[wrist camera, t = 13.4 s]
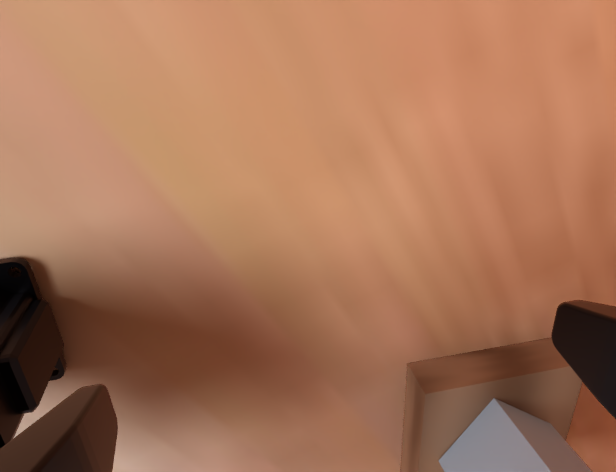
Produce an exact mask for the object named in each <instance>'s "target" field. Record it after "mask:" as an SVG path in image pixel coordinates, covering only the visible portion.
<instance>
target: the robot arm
mask: <svg viewBox="0 0 616 472" xmlns="http://www.w3.org/2000/svg"><path fill="white" fill-rule="evenodd" d="M11 267H17V268H19V269H20V270H21V273H16V272H14V271H13V270H12V269H11ZM552 342H553V344H554V346H555V348H556V350H557V351H558V352H559V353H560V355H561V356H562V357H563V358H564V359H565V361H566V362H567V363H568V364H569V366H570V367H571V368H572V369H573V371H574V372H575V373H576V374H577V375H578V377H579V378H580V379H581V380H582V382H583V383H584V384H585V385H586V387H587V388H588V389H589V390H590V391H591V393H592V394H593V395H594V396H595V397H596V399H597V400H598V401H599V402H600V403H601V404H602V405H603V406H604V407H605V408H606V409H607V411H608V412H609V413H610V414H611V415H612V416H613V417H614V418H615V419H616V307H615V306H609V305H604V304H599V303H593V302H588V301H582V300H575V301H569V302H563V303H561V304H560V305H559V306H558V308H557V312H556V316H555V321H554V325H553V330H552ZM63 347H64V343H63V340H62V338H61V335H60V332H59V329H58V327H57V324H56V321H55V318H54V315H53V313H52V310H51V307H50V304H49V303H48V302H47V301H46V300H44V299H42V296H41V294H40V291H39V288H38V286H37V283H36V280H35V277H34V275H33V272H32V269H31V266H30V265H29V263H28V262H27V261H26V260H24V259H21V258H7V259H0V472H112V469H113V462H114V454H115V447H116V439H117V431H118V425H117V417H116V414H115V411H114V408H113V405H112V402H111V399H110V396H109V392H108V390H107V388H106V386H105V385H103V384H97V385H91V386H86V387H82V388H80V389H78V390H77V391H75V392H74V393H73V394H71V395H70V396H69V397H68V398H66V399H65V400H64V401H62V402H61V403H60V404H58V405H57V406H56V407H54V408H53V409H52V410H50V411H49V412H48V413H47V414H45V415H44V416H43V417H41V418H40V419H39V420H37V421H36V422H35V423H33V424H32V425H31V426H29V427H28V428H27V429H26V430H24V431H23V432H22V433H20V434H19V435H18V436H16V437H15V438H14V436H15V433H16V431H17V429H18V427H19V424H20V422H21V420H22V418H23V416H24V413H30V412H33V411H34V410H35V409H36V408H37V406H38V405H39V403H40V401H41V398H42V396H43V394H44V391H45V389H46V386H47V384H48V382H49V381H51V380H56V379H59V378H61V377H62V376H63V375H64V373H65V370H66V368H67V366H66V362H65V359H64V356H63V354H62V349H63ZM54 368H57V369H58V370H54ZM13 438H14V439H13Z"/></svg>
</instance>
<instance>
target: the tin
mask: <svg viewBox="0 0 616 472" xmlns="http://www.w3.org/2000/svg"><path fill="white" fill-rule="evenodd" d="M439 463H440V465H441V467H442V468H443V470H444V472H592V471H591V469H590V468H589V467H588V466H587V465H586V464H585V463H584V461H583V460H582V459H581V458H580V457H579V456H578V455H577V453H576V452H575V451H574V450H573V449H572V448H571V446H570V445H569V444H568V443H567V442H566V441H565V440H564V438H563V437H562V436H561V435H560V434H559V433H558V432H557V430H556V429H555V428H554V427H553V426H552V425H551V424H550V423H548V422H546V421H543V420H541V419H539V418H537V417H535V416H532V415H530V414H528V413H526V412H524V411H522V410H519V409H517V408H515V407H513V406H511V405H508V404H506V403H504V402H502V401H500V400H497V399H495V398H493V400H492V401H491V402H490V403H489V404H488V405H487V406H486V407H485V409H484V410H483V411H482V412H481V413H480V414H479V415H478V417H477V418H476V419H475V420H474V421H473V422H472V423H471V424H470V426H469V427H468V428H467V429H466V430H465V431H464V432H463V434H462V435H461V436H460V437H459V438H458V439H457V440H456V441H455V443H454V444H453V445H452V446H451V447H450V448H449V449H448V450H447V452H446V453H445V454H444V455H443V456H442V457H441V458H440V460H439Z"/></svg>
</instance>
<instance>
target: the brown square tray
mask: <svg viewBox="0 0 616 472" xmlns="http://www.w3.org/2000/svg"><path fill="white" fill-rule="evenodd" d="M581 385H582V380H581V379H580V378H579V377H578V375H577V374H576V373H575V372H574V371H573V369H572V368H571V367H570V366H569V364H568V363H567V362H566V361H565V359H564V358H563V357H562V356H561V355H560V353H559V352H558V351H557V350H556V348H555V346H554V344H553V342H552V338H546V339H540V340H535V341H529V342H524V343H518V344H512V345H507V346H501V347H496V348H490V349H484V350H479V351H473V352H468V353H462V354H456V355H451V356H445V357H440V358H434V359H428V360H423V361H417V362H412V363H407V376H406V391H405V407H404V422H403V438H402V453H401V469H400V472H444V470H443V468H442V467H441V465H440V463H439V460H440V458H441V457H442V456H443V455H444V454H445V453H446V452H447V450H448V449H449V448H450V447H451V446H452V445H453V444H454V443H455V441H456V440H457V439H458V438H459V437H460V436H461V435H462V434H463V432H464V431H465V430H466V429H467V428H468V427H469V426H470V424H471V423H472V422H473V421H474V420H475V419H476V418H477V417H478V415H479V414H480V413H481V412H482V411H483V410H484V409H485V407H486V406H487V405H488V404H489V403H490V402H491V401H492V400H493V398H495V399H497V400H500V401H502V402H504V403H506V404H508V405H511V406H513V407H515V408H517V409H519V410H522V411H524V412H526V413H528V414H530V415H532V416H535V417H537V418H539V419H541V420H543V421H546V422H548V423H550V424H551V425H552V426H553V427H554V428H555V429H556V430H557V432H558V433H559V434H560V435H561V436H562V437H563V438H564V440H565V441H566V438H567V434H568V431H569V427H570V424H571V420H572V417H573V413H574V410H575V406H576V403H577V399H578V396H579V392H580V389H581Z"/></svg>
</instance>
